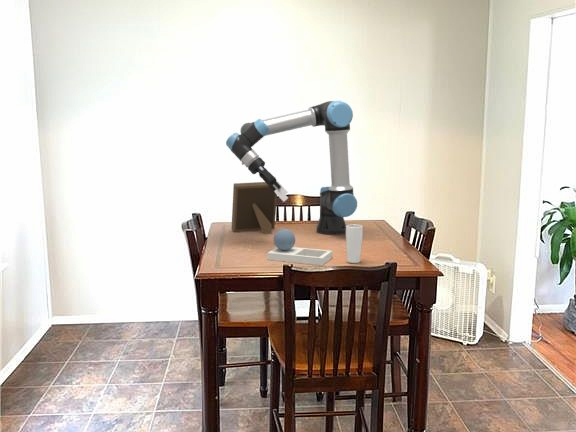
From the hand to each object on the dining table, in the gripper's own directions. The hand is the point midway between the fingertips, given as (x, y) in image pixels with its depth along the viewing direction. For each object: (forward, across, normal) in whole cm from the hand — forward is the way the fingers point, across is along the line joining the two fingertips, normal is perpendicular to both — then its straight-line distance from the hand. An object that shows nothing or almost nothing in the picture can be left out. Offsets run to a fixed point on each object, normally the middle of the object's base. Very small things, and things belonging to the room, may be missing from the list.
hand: (285, 197), depth 257 cm
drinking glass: (+41, +14, +1) cm, 43 cm away
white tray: (+25, +10, -14) cm, 30 cm away
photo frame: (-3, -41, -19) cm, 45 cm away
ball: (+15, +10, -14) cm, 22 cm away
